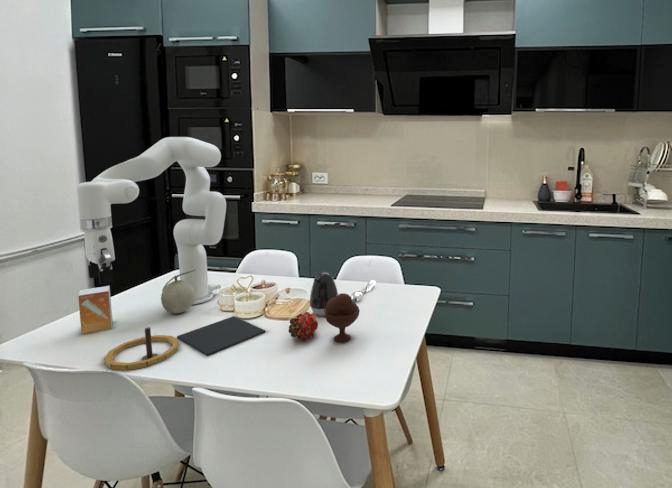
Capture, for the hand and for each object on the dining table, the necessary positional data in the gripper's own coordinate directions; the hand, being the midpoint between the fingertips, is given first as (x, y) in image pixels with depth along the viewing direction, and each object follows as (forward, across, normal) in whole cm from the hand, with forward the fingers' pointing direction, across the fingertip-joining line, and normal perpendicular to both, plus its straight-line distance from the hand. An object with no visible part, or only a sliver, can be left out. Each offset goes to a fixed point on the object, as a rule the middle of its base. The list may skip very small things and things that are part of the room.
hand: (101, 280), depth 129 cm
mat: (+20, -21, -25) cm, 38 cm away
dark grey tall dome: (+20, -33, -56) cm, 69 cm away
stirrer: (+20, -30, -79) cm, 87 cm away
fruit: (+20, +9, -24) cm, 33 cm away
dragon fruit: (+20, -42, -41) cm, 62 cm away
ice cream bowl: (+20, -53, -47) cm, 74 cm away
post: (+20, -19, -5) cm, 28 cm away
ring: (+20, -14, -5) cm, 25 cm away
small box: (+21, +17, -2) cm, 27 cm away
